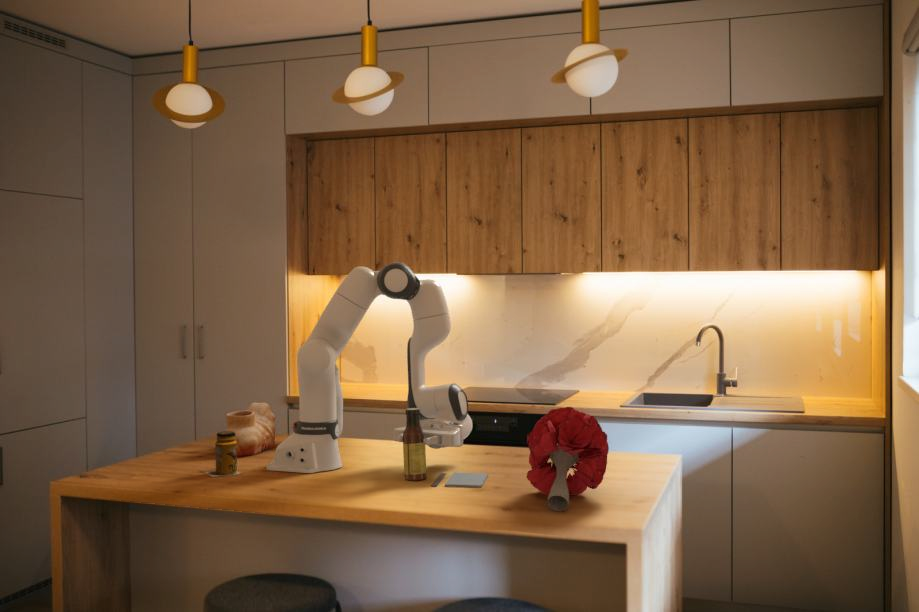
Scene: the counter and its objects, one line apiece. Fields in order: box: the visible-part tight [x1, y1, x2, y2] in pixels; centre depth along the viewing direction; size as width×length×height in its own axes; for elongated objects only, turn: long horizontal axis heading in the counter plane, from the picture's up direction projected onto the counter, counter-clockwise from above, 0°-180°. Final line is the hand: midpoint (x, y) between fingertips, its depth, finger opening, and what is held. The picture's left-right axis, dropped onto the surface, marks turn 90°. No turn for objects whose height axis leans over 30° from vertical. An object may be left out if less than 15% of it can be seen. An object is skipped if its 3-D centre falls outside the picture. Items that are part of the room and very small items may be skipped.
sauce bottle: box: [402, 407, 427, 482], centre depth 246 cm, size 7×6×20 cm
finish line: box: [430, 472, 447, 487], centre depth 245 cm, size 2×16×1 cm, turn 171°
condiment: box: [205, 430, 242, 478], centre depth 255 cm, size 7×8×12 cm
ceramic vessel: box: [225, 402, 277, 458], centre depth 291 cm, size 14×26×15 cm, turn 167°
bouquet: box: [526, 406, 610, 512], centre depth 222 cm, size 22×24×30 cm
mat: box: [444, 472, 489, 488], centre depth 244 cm, size 10×15×1 cm, turn 171°
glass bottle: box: [335, 363, 344, 439], centre depth 306 cm, size 10×10×28 cm
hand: (412, 440), depth 246 cm, fingers open, 7 cm apart
